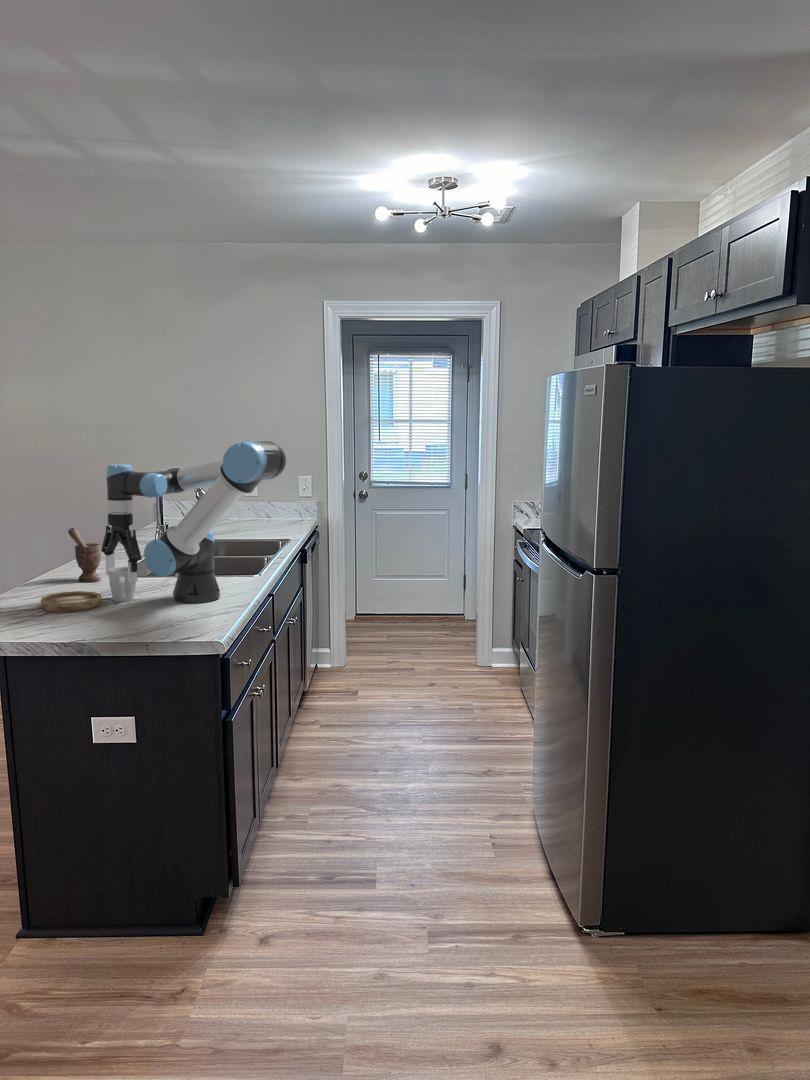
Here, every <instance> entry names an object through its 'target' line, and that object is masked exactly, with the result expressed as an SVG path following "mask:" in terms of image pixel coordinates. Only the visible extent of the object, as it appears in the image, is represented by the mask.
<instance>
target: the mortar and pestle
mask: <svg viewBox="0 0 810 1080" xmlns="http://www.w3.org/2000/svg"><path fill="white" fill-rule="evenodd" d="M67 533H68V535H69V536H70V538H71V539H72V540H73V542H75V544H76V545H75V546H74V551H75V553H74V555H75V561H76V563H77V566H78V568H80V569H81V571H82V572H81V575H79V576H78V578H77V579H78V581H79V582H81V583H93V582H99V581H100V580H102V579H101V575H100V574H99V573H97V569H98V568H99V566H100V563H101V561H102V560H101V559H102V551H101V549H102V543H99V542H98V543H96V542H90V543H89V542H86V543H84V542H85V541H83V538H82V537H81V536H80V533H79V532H78V529H76V528H75V527H70V528H68V531H67Z"/></svg>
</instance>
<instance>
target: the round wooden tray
mask: <svg viewBox="0 0 810 1080" xmlns="http://www.w3.org/2000/svg"><path fill="white" fill-rule="evenodd" d="M40 604H41V610H42V611H45V612H48V613H53V614H55V613H56V614H70V613H71V614H72V613H83V612H88V611H92V610H95V609H98V608H99V607H101V606H102V593H98V592H95V591H85V590H84V591H82V590H78V591H77V590H76V591H63V592H62V591H61V592H56V593H51V594H47V595H44V596H42V597H41V599H40Z"/></svg>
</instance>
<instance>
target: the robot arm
mask: <svg viewBox="0 0 810 1080" xmlns="http://www.w3.org/2000/svg"><path fill="white" fill-rule="evenodd" d="M286 464H287V457H286V453H285V451H284V449H283V448H282V447H281V446H280V445H279V444H277V443H275V442H274V441H269V440H264V441H262V440H261V441H259V440H258V441H253V440H252V441H251V440H244V441H241V442H237V443H234V444H232V445H230V447H228V448H227V449H226V451H225V452H224V454H223V457H222V458H220V459H217V460H210V461H207V462H201V463H198V464H193V465H190V466H189V465H188V466H185V467H184V466H183V467H180V468H175V469H171V470H170V469H169V470H163V471H162V470H161V471H147V472H143V471H133V466H132V465H131V464H128V463H111V464H108V466H107V467H106V476H105V477H106V478H105V479H106V490H107V493H106V494H107V497H106V498H107V501H106V503H107V504H106V505H107V512H108V514H107V525H106V526H105V533H104V538H103V541H102V544H101V553H103V554H104V555H105V575H106V576H109V569H112V568H116V567H115V566H116V561H115V559H116V557H115V554H116V553H115V550H116V548H117V546H118V543H120V544H121V545H122V546H123V549H124V550H125V553H126V556H127V557H128V558H127V559H128V560H127V567H128V582H135V581H136V582H138V561H141V560H143V558H142V555H141V550H140V547H139V544H138V539H137V534H136V529H130V526H132V525H133V524H134V515H133V513H132V512H133V504H134V502H133V496H135V497H137V496H138V497H145V498H147V497H148V498H151V499H152V498H161V497H162V496H163V495H168V494H180V493H184V492H185V491H189V490H190V491H192V490H195V489H201V488H205V487H209V488H208V489H207V490H206V491H205V493H203V494H202V496H201V497H200V498H199V499H198V501H197V502H196V503H195V504H194V505H193V506H192V507H191V509H190V510H189V511H188V512H187V513H186V515H184V517H183V518H182V519H181V520H180V521H179V523H178V524H177V525H171V526H169V527H168V528H167V529H166V530H165V531H164V532H163V534H162V535H161V536H160V537H158V538H155V539H152V540H151V541H149V542H148V543H146V545H145V547H144V550H143V557H144V562H145V565H146V567H147V569H148V571H150V572H151V573H152V574H153V575H156V576H158V577H170V576H173V575H175V574H177V578H176V580H175V585H174V588H173V590H172V599H173V600H174V601H175V602H179V603H187V604H198V603H199V604H200V603H208V602H209V601H210V602H214V601H217V600H219V599H220V598H221V590H220V587H219V584H218V582H217V581H218V580H217V577H216V576H215V544H216V543H215V542H216V541H215V537H214V536H215V535H214V532H213V531H212V530H213V529H214V527H215V526H216V525H217V524H218V523H219V522H220V521H221V519H222V518H223V517H224V516H225V515H226V514H227V512H229V510H231V508H232V507H233V506H234V505H235V504H236V502H237V501H238V500H239V499H240V498H241V497H242V496H243V495H248V494H249V495H250V494H252V492H253V491H254V490H255V489H256V488H257V486H258V485H259V484H260V483H261V482H263V481H267V480H272V479H275V478H278V477H279V476H280V475H281V474H282V473H283V472H284V470H285V468H286ZM219 597H220V598H219ZM218 598H219V599H218ZM216 599H217V600H216ZM213 600H214V601H213ZM210 602H209V603H210Z"/></svg>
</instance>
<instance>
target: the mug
mask: <svg viewBox="0 0 810 1080" xmlns="http://www.w3.org/2000/svg"><path fill="white" fill-rule="evenodd" d="M108 579H109V588H110V591H111V592H110V593H111V596H112V597H111V598H112V600H113V601H114V602H118V603H120V602H121V603H123V602H131V601H132V600H134V598H135V591H136V586H137V581H135V582H128V566H122V567H115V568H112V569H109V575H108Z"/></svg>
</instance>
